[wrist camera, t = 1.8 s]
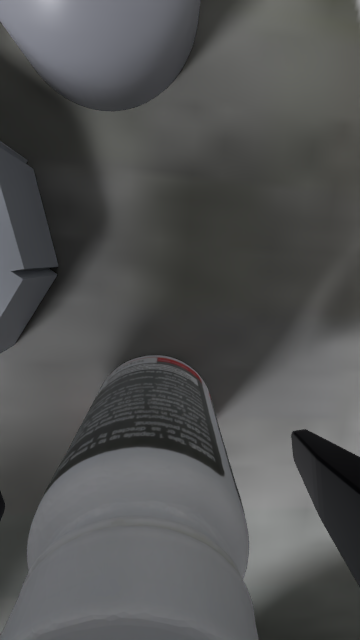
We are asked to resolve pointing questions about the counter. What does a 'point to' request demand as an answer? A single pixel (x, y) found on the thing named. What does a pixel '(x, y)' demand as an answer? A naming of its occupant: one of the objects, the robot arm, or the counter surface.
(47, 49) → the grey rounded lump
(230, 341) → the counter surface
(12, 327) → the octagonal ring stamp
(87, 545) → the pill bottle
